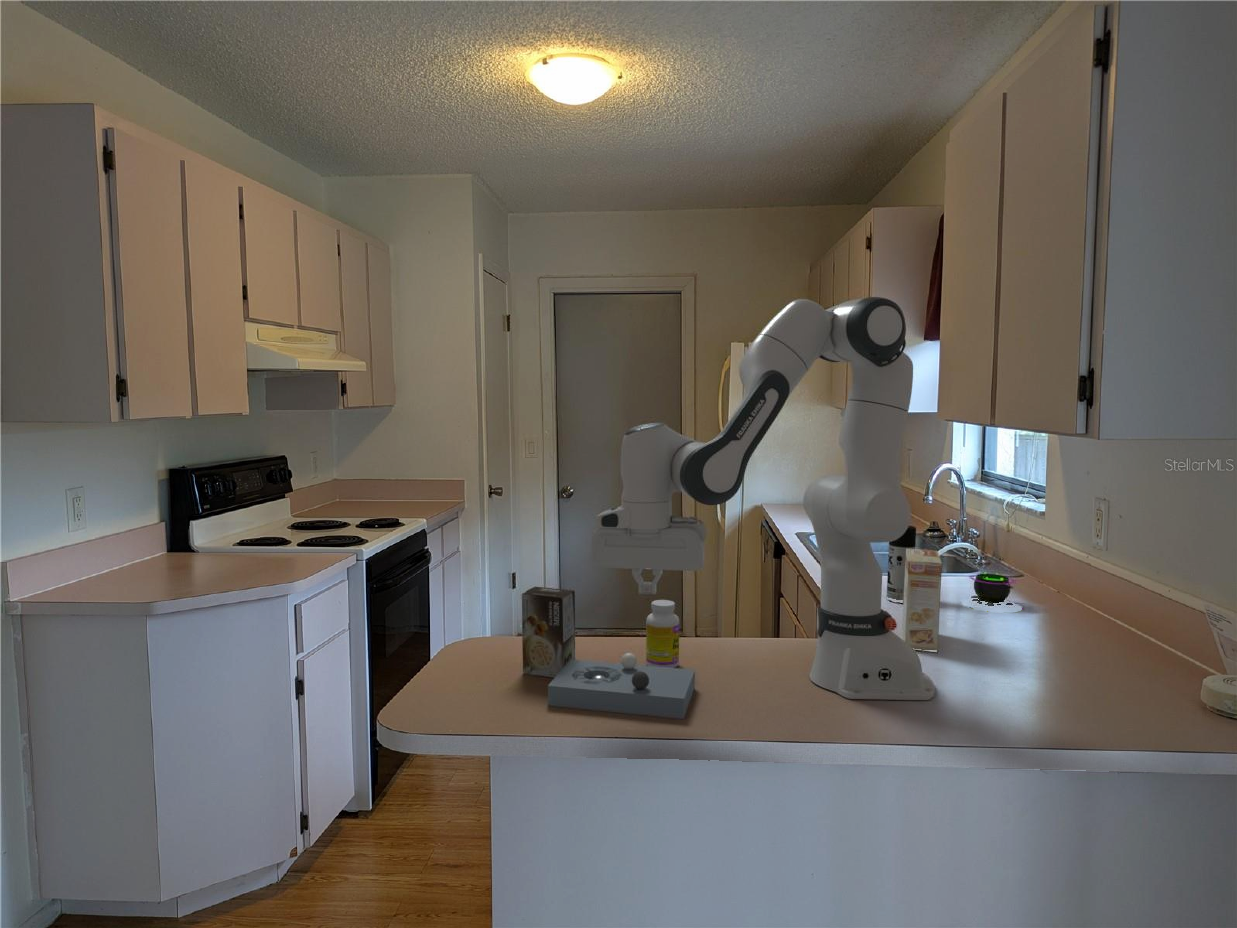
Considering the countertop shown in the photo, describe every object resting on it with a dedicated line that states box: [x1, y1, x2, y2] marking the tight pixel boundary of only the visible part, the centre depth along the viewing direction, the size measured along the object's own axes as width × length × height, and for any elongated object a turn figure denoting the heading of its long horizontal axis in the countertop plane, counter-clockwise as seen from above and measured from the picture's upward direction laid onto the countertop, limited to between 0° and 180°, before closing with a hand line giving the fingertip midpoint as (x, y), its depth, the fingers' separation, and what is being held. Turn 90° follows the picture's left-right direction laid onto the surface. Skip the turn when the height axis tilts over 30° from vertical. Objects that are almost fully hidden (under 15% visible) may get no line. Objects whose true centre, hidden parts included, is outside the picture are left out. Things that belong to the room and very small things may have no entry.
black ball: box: [632, 671, 649, 689], centre depth 135 cm, size 3×3×3 cm
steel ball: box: [591, 675, 606, 680], centre depth 141 cm, size 4×4×4 cm
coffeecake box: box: [901, 548, 943, 651], centre depth 172 cm, size 15×7×20 cm, turn 161°
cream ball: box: [620, 652, 638, 669], centre depth 144 cm, size 3×3×3 cm
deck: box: [547, 658, 696, 720], centre depth 140 cm, size 24×14×4 cm, turn 77°
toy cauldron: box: [968, 562, 1018, 606], centre depth 203 cm, size 15×15×11 cm
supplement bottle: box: [645, 599, 680, 668], centre depth 157 cm, size 7×7×13 cm
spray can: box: [886, 525, 917, 601], centre depth 206 cm, size 7×7×20 cm
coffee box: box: [521, 586, 576, 679], centre depth 152 cm, size 9×6×16 cm
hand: (647, 593), depth 138 cm, fingers closed
